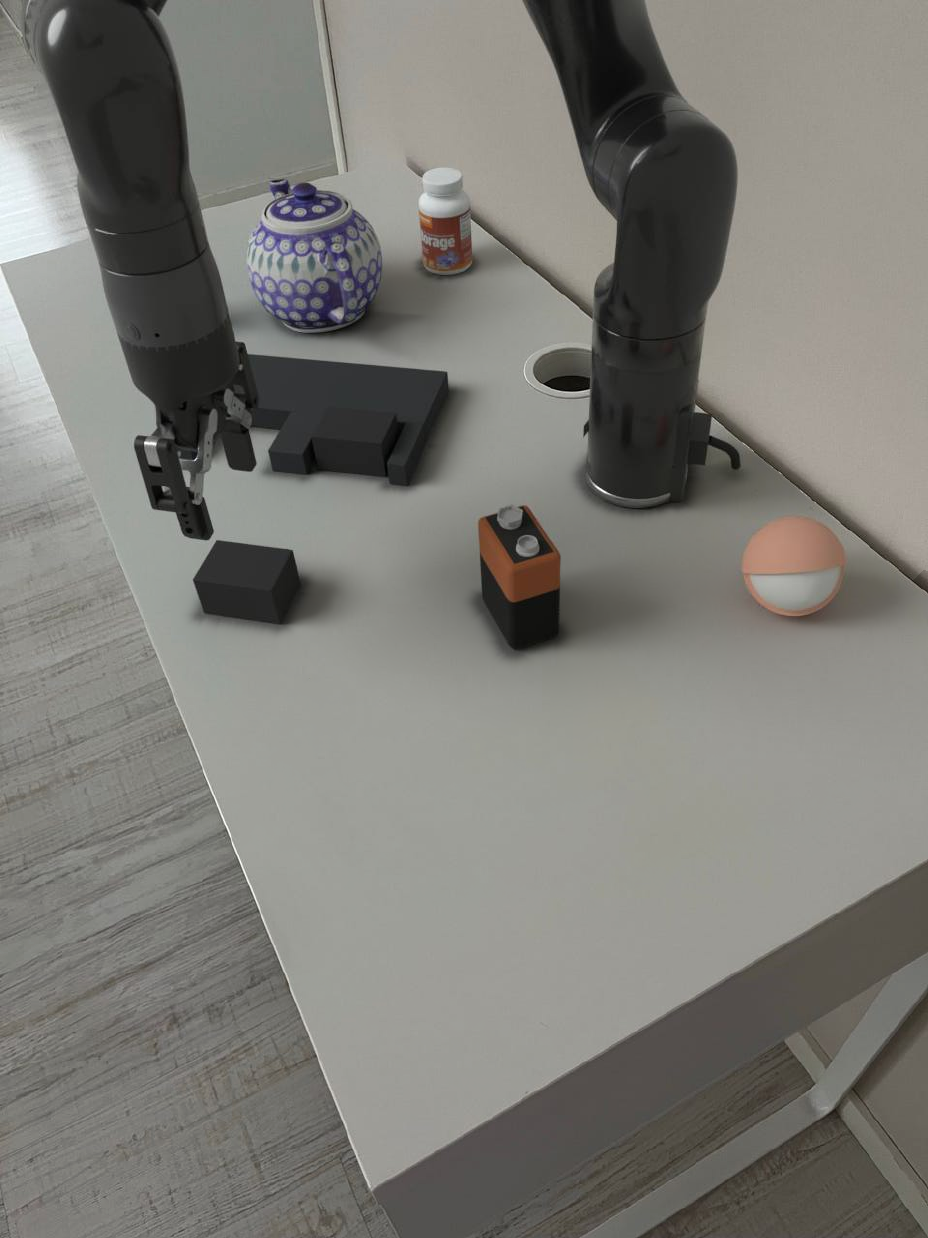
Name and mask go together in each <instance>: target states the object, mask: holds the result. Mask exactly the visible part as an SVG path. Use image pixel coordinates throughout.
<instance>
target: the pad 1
mask: <svg viewBox="0 0 928 1238" xmlns="http://www.w3.org/2000/svg"><path fill="white" fill-rule="evenodd" d="M192 583H193V584H194V587H195V591H196V593H197V598H198V599H199V602H200V605H201V608H202V612H203V613H204V614H208V615H215V616H222V617H228V618H237V619H241V620H242V619H243V620H249V621H256V622H261V623H269V624H277V625H281V624H282V622H283V620H284V618H285V616H286V614H287V612H288V610H289V608H290V606H291V604H292V602H293V600H294V598H295V596H296V594H297V593H298V590H299V588H300V586H301V584H302V583H301V579H300V574H299V571H298V565H297V562H296V558H295V553H294V550H293V549H289V548H283V547H275V546H266V545H259V544H251V543H242V542H235V541H226V540H220V539H217V540H215V542H214V544H213V545H212V547H211V549H210V550H209V551H208V554H207V555H206V556H205V559H204V560H203V561H202V564H201V565H200V567H199V568H198V570H197V572H196V573H195V575H194V577H193V578H192Z"/></svg>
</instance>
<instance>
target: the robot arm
mask: <svg viewBox="0 0 928 1238" xmlns="http://www.w3.org/2000/svg"><path fill="white" fill-rule="evenodd" d="M521 1H522V3H523V5H524V7H525V9H526V13H527V15H528V16H529V18H530V20H531V22H532V24H533V26H534V28H535V30H536V32H537V34H538V36H539V38H540V40H541V41H542V43H543V46H544V47H545V50H546V52H547V53H548V55H549V58H550V60H551V63H552V64H553V67H554V71H555V73H556V76H557V79H558V81H559V85H560V87H561V91H562V94H563V98H564V101H565V105H566V108H567V111H568V115H569V118H570V122H571V126H572V130H573V133H574V136H575V137H574V138H575V141H576V144H577V148H578V151H579V155H580V159H581V162H582V167H583V170H584V173H585V176H586V179H587V182H588V184H589V186H590V189H591V190H592V192H593V194H594V196H595V197H596V199H597V200H598V202H599V203H600V204H601V206H603V208H604V209H605V211H607V212H608V213H609V214H610V215H611V216H612V217H613V219H615V221H616V234H615V235H616V236H615V248H614V260H613V262H612V263H610V264H608V265H607V266H606V267H604V268H603V269H602V271H600V273H599V274H598V276H597V277H596V280H595V283H594V286H593V287H594V288H593V302H592V326H591V327H592V328H591V329H592V330H591V348H590V349H591V352H590V376H589V400H588V401H589V402H588V403H589V404H588V419H587V421H585V424H584V425H583V432H582V433H583V434H582V435H583V436H582V437H583V439H584V438H585V437H586V435H587V452H586V463H585V481H586V484H587V486H588V487H589V489H590V490H591V491H592V493H594V494H595V496H597V497H599V498H600V499H602V500H604V501H606V502H608V503H611V504H613V505H616V506H619V507H626V508H635V509H636V508H637V509H638V508H640V509H641V508H650V507H656V506H660V505H663V504H665V503H669V502H677V503H678V502H679V503H680V502H682V501H683V499H684V494H685V493H684V492H685V486H686V485H687V484H686V483H687V480H688V470H689V469H688V466H689V465H694V466H695V465H697V466H706V462H707V456H708V450H709V449H708V448H709V446H710V447H711V448H715V449H717V450H720V451H722V452H724V453H725V454H727V456H728V457H729V458H730V467H731V469H732V470H734V471H736V470H739V469H741V466H742V465H741V455H740V453H739V450H738V449H737V448H736V447H735V446H734V445H732V444H731V443H729V442H727V441H725V440H723V439H720V438H718V437H715V436H713V435H711V434H710V433H711V428H712V427H711V426H712V418H713V413H707V412H696V404H697V397H698V395H697V394H698V390H699V389H698V388H699V375H700V367H701V359H702V352H703V343H704V336H705V327H706V320H707V315H708V314H707V313H708V307H709V302H710V300H711V298H712V297H713V295H714V293H715V291H716V290H717V288H718V286H719V283H720V281H721V278H722V275H723V271H724V266H725V262H726V256H727V251H728V245H729V240H730V235H731V230H732V224H733V218H734V213H735V207H736V202H737V201H736V200H737V195H738V194H737V192H738V178H739V172H738V171H739V170H738V169H739V168H738V159H737V154H736V151H735V147H734V145H733V143H732V141H731V139H730V138H729V136H728V135H727V134H726V133H725V132H724V131H723V129H721V128H720V127H719V126H717V125H716V124H715V123H714V122H713V121H712V120H710V119H709V118H708V117H706V115H705V114H703V113H702V112H700V111H699V110H698V109H697V108H695V107H694V106H693V105H691V104H690V103H689V102H688V101H687V99H686V98H685V96H683V95H682V94H681V92H680V90H679V88H678V86H677V84H676V82H675V81H674V78H673V76H672V74H671V72H670V69H669V67H668V65H667V63H666V60H665V58H664V55H663V53H662V51H661V48H660V45H659V42H658V39H657V37H656V34H655V32H654V31H655V30H654V29H653V26H652V23H651V19H650V15H649V12H648V7H647V3H646V0H521ZM167 2H168V0H22V2H21V3H22V4H21V10H20V30H21V35H22V40H23V43H24V47H25V49H26V52H27V53H28V56H29V58H30V59H31V61H32V63H33V65H34V67H35V68H36V69H37V70H38V72H39V73H40V75H41V77H42V78H43V79H44V81H45V82H46V84H47V87H48V89H49V91H50V94H51V96H52V99H53V102H54V104H55V107H56V109H57V113H58V115H59V118H60V121H61V124H62V126H63V129H64V132H65V136H66V139H67V141H68V145H69V148H70V151H71V154H72V156H73V159H74V163H75V165H76V169H77V172H78V173H77V176H76V188H77V194H78V199H79V203H80V207H81V211H82V214H83V215H82V216H83V218H84V222H85V224H86V227H87V230H88V233H89V236H90V239H91V243H92V245H93V249H94V252H95V255H96V259H97V262H98V265H99V270H100V274H101V275H100V277H101V283H102V287H103V293H104V296H105V300H106V303H107V307H108V310H109V313H110V315H111V320H112V321H113V325H114V329H115V331H116V335H117V337H118V341H119V344H120V347H121V349H122V353H123V356H124V359H125V362H126V366H127V368H128V372H129V374H130V378H131V380H132V383H133V385H134V386H135V387H136V389H137V390H138V391H139V392H140V393H141V394H143V395H144V396H145V397H146V398H148V399H149V400H150V402H152V403H153V405H154V409H155V425H156V428H155V430H154V431H153V432H152V434H151V435H140V434H138V435H137V436H136V437H135V438H134V440H133V448H134V453H135V456H136V459H137V463H138V466H139V470H140V474H141V476H142V480H143V483H144V486H145V490H146V494H147V496H148V500H149V503H150V504H149V505H150V507H151V509H152V510H154V511H162V512H168V513H175V515H176V519H177V522H178V525H179V528H180V531H181V534H182V535H183V537H185V538H188V539H192V540H198V541H199V540H201V541H209V540H211V538H212V536H213V535H214V533H215V530H214V526H213V523H212V519H211V516H210V512H209V508H208V505H207V502H206V499H205V497H204V482H205V474H206V473H208V472H210V470H211V469H212V459H213V446H214V444H215V442H216V439H217V437H218V436H220V439H221V443H222V447H223V451H224V454H225V458H226V462H227V465H228V467H229V468H230V469H231V470H232V471H241V472H247V473H248V472H249V473H251V472H253V471H254V470H255V468H256V466H257V459H256V454H255V451H254V446H253V441H252V436H251V433H250V429H251V428H252V427H251V425H252V416H251V414H250V411H251V409H257V408H258V405H259V396H258V392H257V388H256V384H255V380H254V377H253V373H252V369H251V365H250V361H249V357H248V354H249V353H248V350H247V346H246V344H245V342H244V341H238V340H237V341H236V337H235V334H234V329H233V324H232V321H231V316H230V312H229V307H228V302H227V299H226V295H225V290H224V285H223V281H222V277H221V274H220V270H219V267H218V264H217V261H216V259H215V257H214V254H213V252H212V251H213V250H212V248H211V245H210V242H209V239H208V234H207V233H208V232H207V230H206V225H205V221H204V216H203V212H202V207H201V204H200V200H199V195H198V192H197V189H196V185H195V182H194V179H193V176H192V172H191V167H190V148H189V147H190V146H189V136H188V125H187V115H186V114H187V113H186V107H185V100H184V99H185V98H184V92H183V85H182V80H181V75H180V71H179V66H178V62H177V59H176V55H175V52H174V49H173V45H172V42H171V39H170V36H169V35H168V32H167V30H166V28H165V26H164V24H163V22H162V20H161V18H160V15H161V13H162V11H163V9H164V8H165V5H166V3H167ZM234 385H240V386H242V387H243V389H244V393H242V392H235V389H234ZM176 445H177V446H178V447H179V448H181V449H183V450H189V451H197V452H198V455H197V458H196V459H195V460H188V459H180V458H179V457H180V456H181V452H180V451H179V450H177V449H176ZM183 471H187V472H189V486H187V485H186V480H185V476H184V473H183ZM163 487H164V488H163ZM163 489H164V490H163Z"/></svg>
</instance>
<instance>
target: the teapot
mask: <svg viewBox="0 0 928 1238" xmlns="http://www.w3.org/2000/svg"><path fill="white" fill-rule="evenodd" d="M268 184H269V189H270V193H271V194H270V195H271V198H272V201H270V202H269V203H267V204H266V205H265V207H264V208H263V210H262V211H261V221H260V222H259V223H258V224H257V225H255V226H254V228H253V230H252V231H251V234H250V235H249V239H248V242H247V248H246V268H247V274H248V279H249V281H250V284H251V288H252V290H253V293H254V295H255V297H256V299H257V301H259V303H260V305H262V307H263V308H264V309H265V310H266V313H268V314H270V315H272V316H273V317H275V318H276V319H278V320H279V321H281V323H282V324H283V325H284V326H285V327H287V328H288V329H291V331H294V332H298V333H306V334H309V333H314V334H315V333H324V332H330V331H335V330H338V329H342V328H345V327H347V326H349V325H351V324H353V323H355V322H356V321H358V320H360V319H361V318H362V316H363V315H364V314H365V311H366V309H367V308H368V306H369V305H370V304H371V303H372V301H373V300H374V298H375V297H376V296H377V294H378V290H379V288H380V286H381V280H382V274H383V256H382V255H383V253H382V248H381V244H380V240H379V238H378V235H377V234H376V232H375V229H374V227H373V226H372V224H371V223H370V221H368V219H367V218H366V217H365V216H363V215H362V214H361V213H360V212H359V211H357V210H355V209H354V208H353V204H352V201H351V199H349V198H348V197H347V196H345V195H344V194H342V193H340V192H337V191H332V190H326V189H325V190H324V189H318V188H317V186H315V185H313V184H312V183H310V182H300V183H297V184H295V185H294V186H293V187H291V186H290V185H291V184H290V183H289V181H288V179H287V178H280V179H274V180H270V181H269V183H268Z"/></svg>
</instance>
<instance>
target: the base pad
mask: <svg viewBox="0 0 928 1238" xmlns="http://www.w3.org/2000/svg"><path fill="white" fill-rule="evenodd" d="M248 357H249V361H250V365H251V369H252V373H253V377H254V380H255V384H256V388H257V392H258V396H259V405H258V408H257V409H251V411H250V414H251V416H252V425H251V427H250V428H261V429H269V430H270V429H272V430H279V431H278V434H277V435H275V438H274V440H273V441H272V443H271V444H270V446H269V447H268V449H267V452H268V457H269V461H270V465H271V469H272V472H279V473H280V472H281V473H289V474H298V475H308V473H309V472H310V470H311V468H312V466H313V464H314V463H315V461H316V456H315V451H314V446H313V441H312V435H313V433H314V431H315V429H316V428H317V426H318V424H319V422H320V421H321V419H322V417H323V415H324V413H325V412H326V410H327V408H328V407H338V408H349V409H359V410H369V411H380V412H390V413H396V415H397V423H398V432H399V439H398V441H397V443H396V445H395V447H394V450H393V452H392V454H391V456H390V458H389V460H388V462H387V468H388V474H387V476H388V480H389V481H388V482H389V485H394V486H402V487H403V486H404V487H408V485H409V484H410V482H411V479H412V476H413V474H414V472H415V470H416V468H417V465H418V463H419V460H420V458H421V457H422V454H423V451H424V449H425V447H426V445H427V442H428V440H429V438H430V435H431V434H432V431H433V429H434V428H435V427H434V426H435V424H436V422H437V420H438V418H439V415H440V413H441V411H442V408H443V406H444V404H445V403H446V402H445V401H446V399H447V397H448V395H449V392H450V388H449V387H450V386H449V376H448V375H449V374H448V371H445V370H444V371H443V370H433V369H424V368H423V369H421V368H412V367H410V368H409V367H401V366H389V365H388V366H387V365H376V364H367V363H366V364H365V363H355V362H354V363H353V362H344V361H333V360H323V359H322V360H320V359H309V358H299V357H298V358H297V357H287V356H278V355H277V356H275V355H264V354H252V353H248ZM234 389H235V392H242V393H244V389H243V387H242V386H240V385H234ZM176 449H177V450H179V451H180V452H181V456H180V457H179V458H180V459H188V460H195V459H196V458H197V455H198V452H197V451H189V450H183V449H181V448H179V447H178V446H177V445H176Z"/></svg>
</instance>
